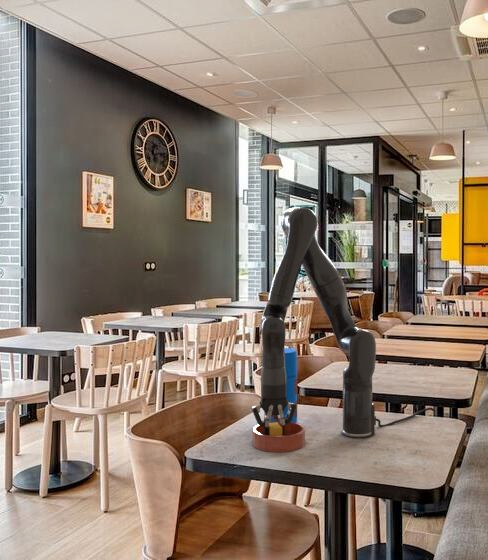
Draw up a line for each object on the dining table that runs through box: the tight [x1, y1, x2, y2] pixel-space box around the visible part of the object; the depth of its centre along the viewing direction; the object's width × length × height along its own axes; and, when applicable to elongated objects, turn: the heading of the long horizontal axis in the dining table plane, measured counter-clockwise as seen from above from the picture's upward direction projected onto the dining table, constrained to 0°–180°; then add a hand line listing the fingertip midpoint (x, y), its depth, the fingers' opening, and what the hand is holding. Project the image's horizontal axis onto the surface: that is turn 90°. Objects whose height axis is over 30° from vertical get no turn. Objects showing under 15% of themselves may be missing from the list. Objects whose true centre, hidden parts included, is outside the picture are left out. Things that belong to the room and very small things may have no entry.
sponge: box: [269, 422, 282, 436], centre depth 180 cm, size 4×6×5 cm, turn 16°
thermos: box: [263, 347, 298, 423], centre depth 197 cm, size 11×11×25 cm
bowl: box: [252, 421, 306, 453], centre depth 180 cm, size 15×15×4 cm
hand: (274, 438), depth 180 cm, fingers closed on sponge, 3 cm apart
